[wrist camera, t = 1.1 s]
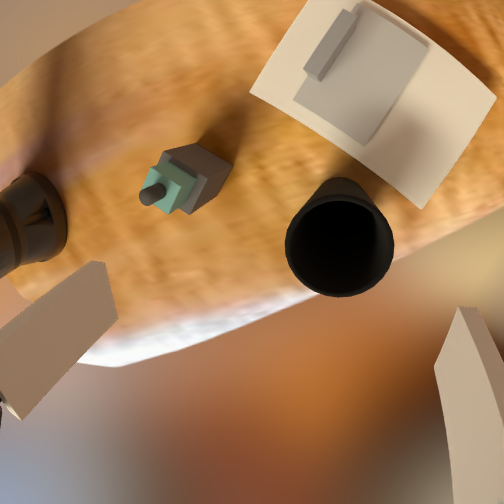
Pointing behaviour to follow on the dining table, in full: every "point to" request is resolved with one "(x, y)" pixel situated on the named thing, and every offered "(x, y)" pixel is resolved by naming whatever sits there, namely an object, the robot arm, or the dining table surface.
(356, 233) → the cup
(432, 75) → the socket board
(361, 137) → the panel
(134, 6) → the dining table surface
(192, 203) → the plug
